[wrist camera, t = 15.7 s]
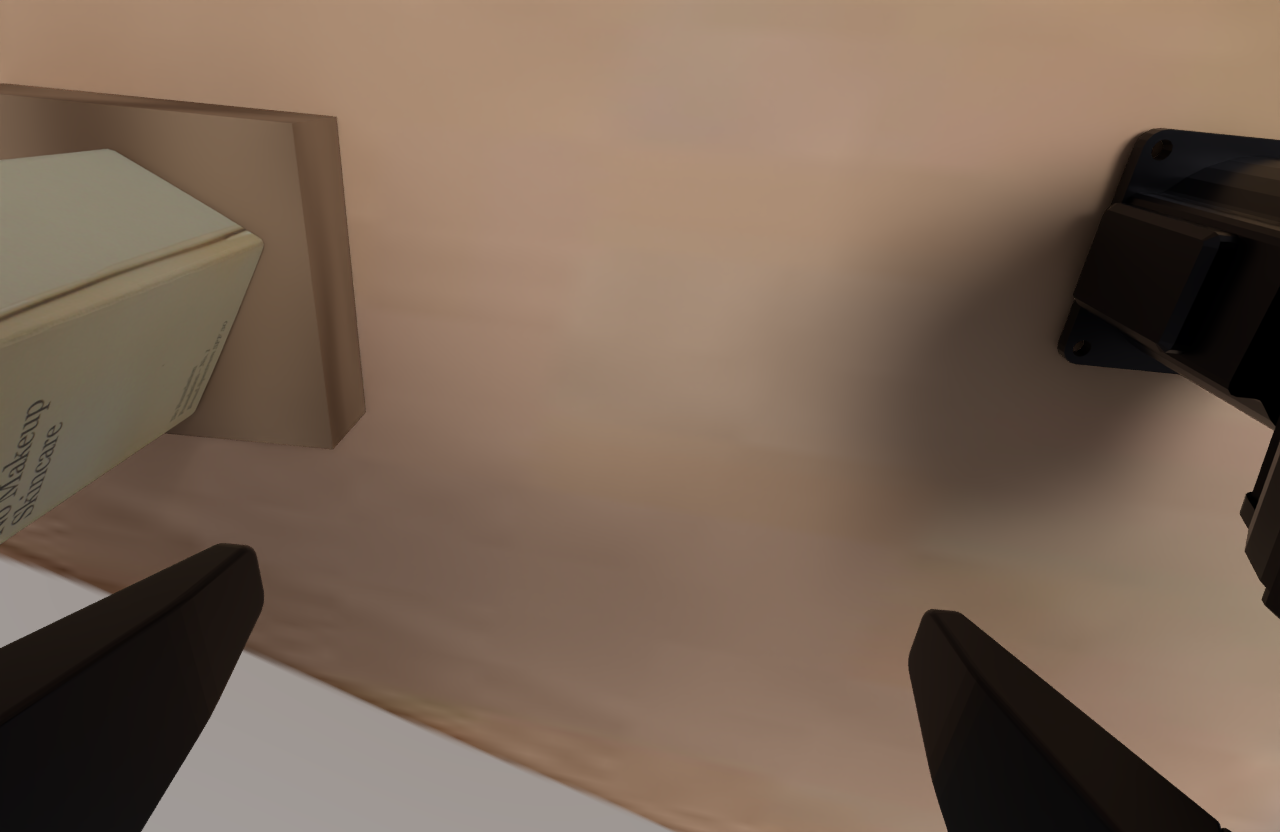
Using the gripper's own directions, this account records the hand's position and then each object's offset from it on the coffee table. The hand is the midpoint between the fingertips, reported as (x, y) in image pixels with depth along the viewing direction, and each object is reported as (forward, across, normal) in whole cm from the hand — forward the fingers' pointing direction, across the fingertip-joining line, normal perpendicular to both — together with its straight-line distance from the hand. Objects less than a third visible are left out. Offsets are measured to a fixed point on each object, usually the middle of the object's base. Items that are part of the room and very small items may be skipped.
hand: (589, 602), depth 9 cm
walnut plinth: (+13, +13, 0) cm, 18 cm away
